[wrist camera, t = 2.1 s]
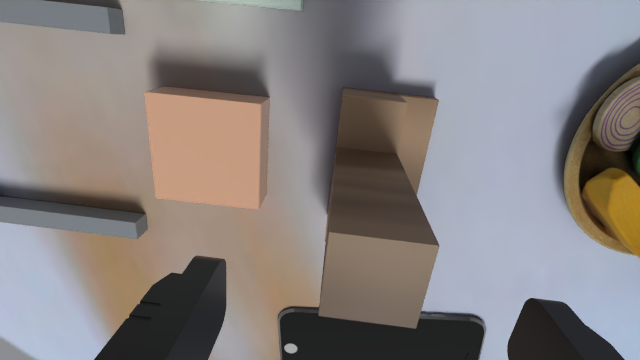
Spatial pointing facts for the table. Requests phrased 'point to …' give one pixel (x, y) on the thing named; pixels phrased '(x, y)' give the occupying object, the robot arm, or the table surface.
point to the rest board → (267, 3)
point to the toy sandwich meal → (608, 168)
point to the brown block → (378, 211)
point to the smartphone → (378, 338)
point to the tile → (208, 146)
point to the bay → (30, 9)
